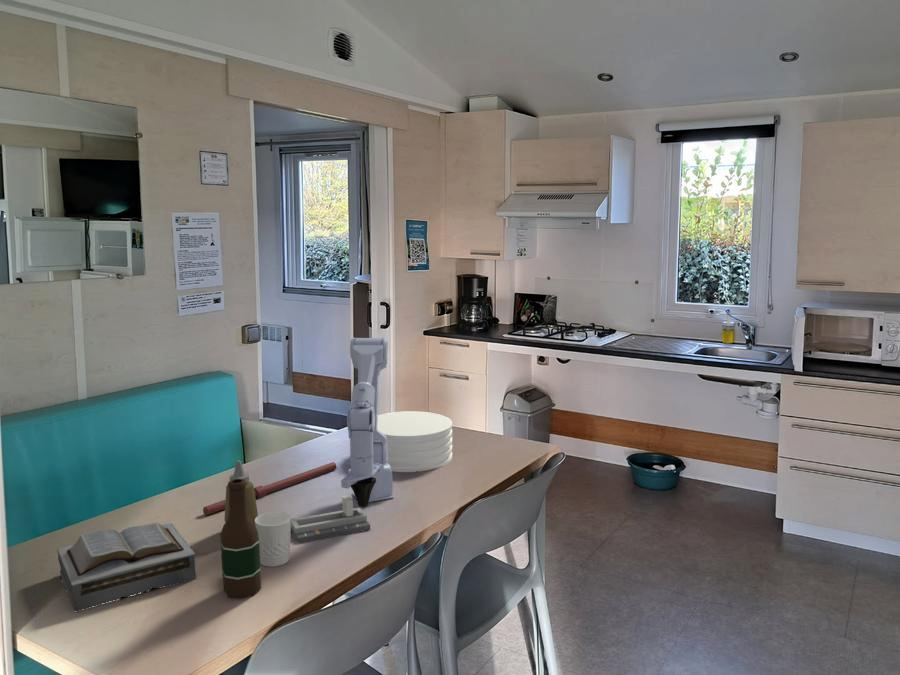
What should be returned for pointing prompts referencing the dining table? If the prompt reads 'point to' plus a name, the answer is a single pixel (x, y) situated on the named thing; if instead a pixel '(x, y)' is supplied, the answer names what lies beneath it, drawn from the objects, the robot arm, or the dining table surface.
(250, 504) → the squeeze bottle
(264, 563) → the white cup
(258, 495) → the red long thin rod
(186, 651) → the dining table surface
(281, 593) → the dining table surface
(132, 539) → the bible
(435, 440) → the plate stack
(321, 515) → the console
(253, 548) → the sauce bottle
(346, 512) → the fader
